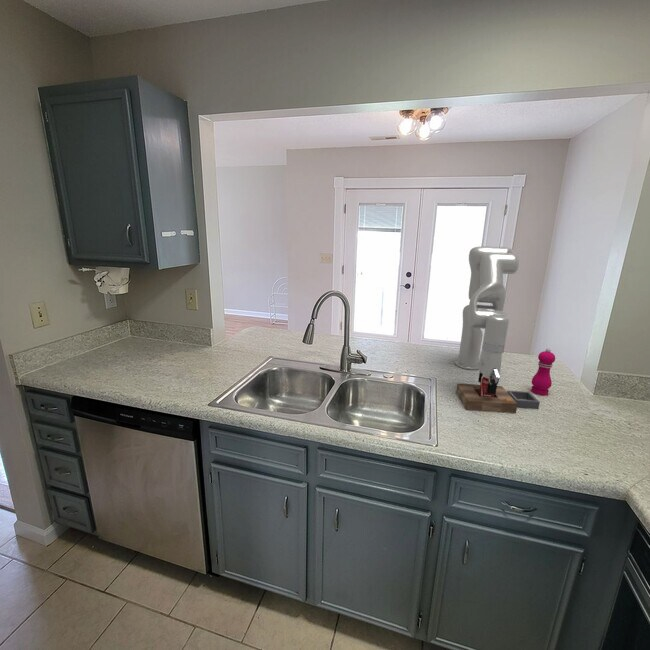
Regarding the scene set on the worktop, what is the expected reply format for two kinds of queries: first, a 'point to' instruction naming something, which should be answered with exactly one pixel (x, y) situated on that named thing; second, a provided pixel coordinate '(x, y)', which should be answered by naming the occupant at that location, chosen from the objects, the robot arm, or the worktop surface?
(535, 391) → the pepper mill
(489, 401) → the block
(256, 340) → the worktop surface
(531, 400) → the holster
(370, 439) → the worktop surface
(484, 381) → the soda can
